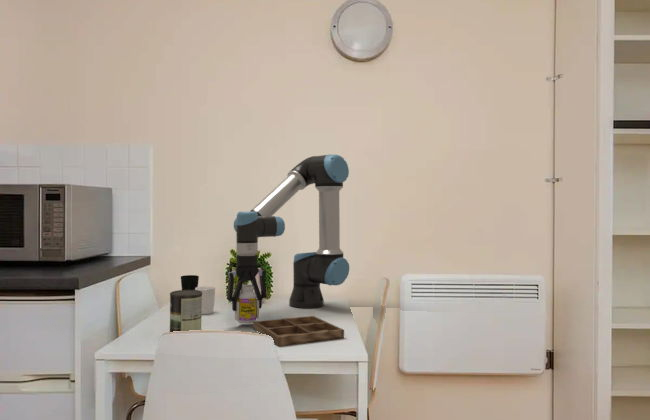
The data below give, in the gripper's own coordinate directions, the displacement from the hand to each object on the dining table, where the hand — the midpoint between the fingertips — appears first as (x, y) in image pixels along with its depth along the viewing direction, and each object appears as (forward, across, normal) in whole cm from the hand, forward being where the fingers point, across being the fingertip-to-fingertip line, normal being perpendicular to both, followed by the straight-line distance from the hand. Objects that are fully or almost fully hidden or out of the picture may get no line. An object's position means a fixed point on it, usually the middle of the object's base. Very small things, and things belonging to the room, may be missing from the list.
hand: (247, 318), depth 176 cm
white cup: (+3, -8, +28) cm, 29 cm away
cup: (+3, -10, +49) cm, 50 cm away
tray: (+3, +12, -18) cm, 22 cm away
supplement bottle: (+1, 0, 0) cm, 1 cm away
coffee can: (+2, -22, -4) cm, 23 cm away
